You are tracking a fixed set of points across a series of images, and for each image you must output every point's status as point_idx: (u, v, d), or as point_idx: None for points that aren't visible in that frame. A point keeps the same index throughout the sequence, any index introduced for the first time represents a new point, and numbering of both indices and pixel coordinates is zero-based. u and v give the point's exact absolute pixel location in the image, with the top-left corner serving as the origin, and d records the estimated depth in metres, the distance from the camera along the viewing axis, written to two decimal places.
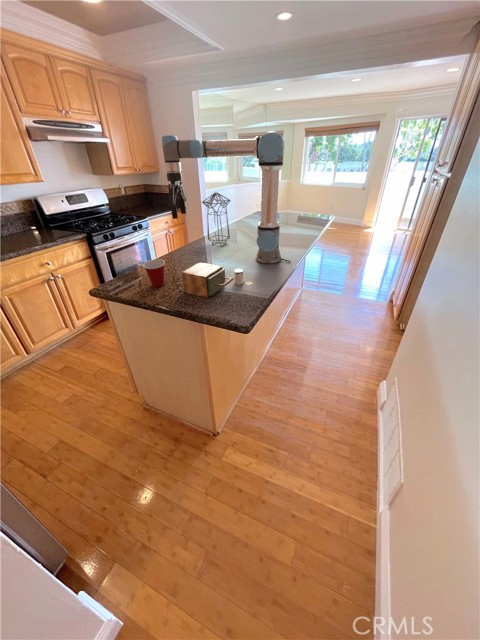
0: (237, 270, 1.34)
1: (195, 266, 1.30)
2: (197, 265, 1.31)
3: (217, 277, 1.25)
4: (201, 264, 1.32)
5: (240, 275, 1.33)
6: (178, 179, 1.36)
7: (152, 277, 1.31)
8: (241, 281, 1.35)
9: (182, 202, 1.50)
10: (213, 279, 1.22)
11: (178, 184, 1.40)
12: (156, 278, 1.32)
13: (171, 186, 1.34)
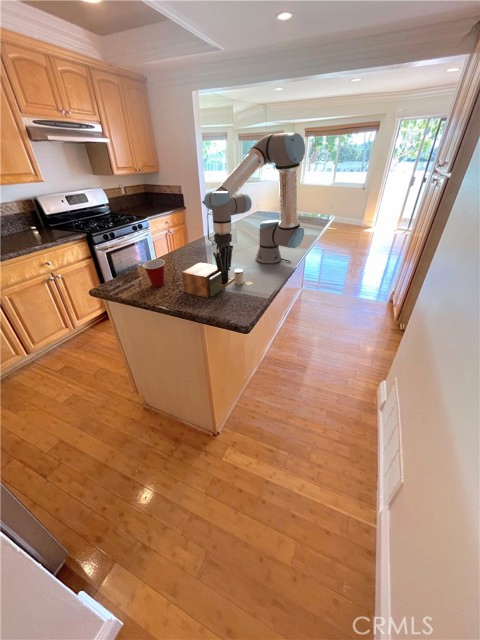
0: (237, 270, 1.34)
1: (195, 266, 1.30)
2: (197, 265, 1.31)
3: (219, 278, 1.24)
4: (201, 264, 1.32)
5: (240, 275, 1.33)
6: (225, 242, 1.11)
7: (152, 277, 1.31)
8: (241, 281, 1.35)
9: None
10: (214, 280, 1.21)
11: (227, 242, 1.15)
12: (156, 278, 1.32)
13: (217, 255, 1.12)
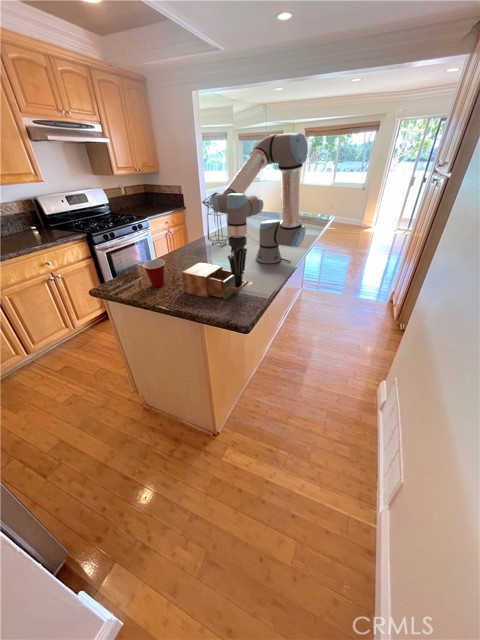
0: None
1: (195, 266, 1.30)
2: (197, 265, 1.31)
3: (232, 280, 1.21)
4: (201, 264, 1.32)
5: None
6: (241, 245, 1.08)
7: (152, 277, 1.31)
8: None
9: None
10: (228, 283, 1.18)
11: None
12: (156, 278, 1.32)
13: (231, 259, 1.09)
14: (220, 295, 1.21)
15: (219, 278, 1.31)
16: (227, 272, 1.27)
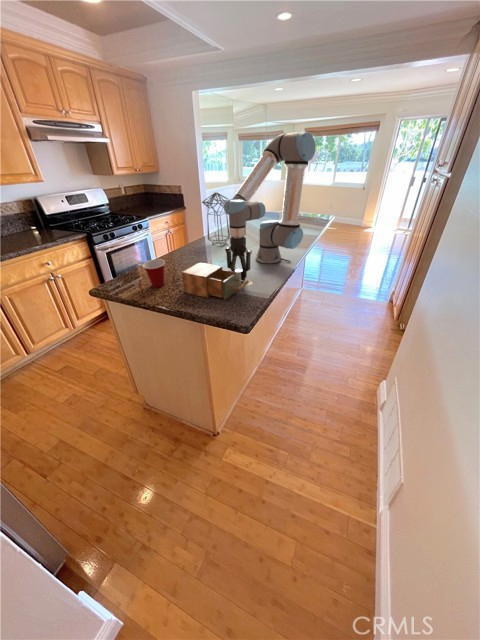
0: (237, 270, 1.34)
1: (195, 266, 1.30)
2: (197, 265, 1.31)
3: (232, 280, 1.21)
4: (201, 264, 1.32)
5: (240, 275, 1.33)
6: (230, 243, 1.25)
7: (152, 277, 1.31)
8: None
9: None
10: (228, 283, 1.18)
11: (239, 247, 1.26)
12: (156, 278, 1.32)
13: None
14: (220, 295, 1.21)
15: (219, 278, 1.31)
16: (227, 272, 1.27)
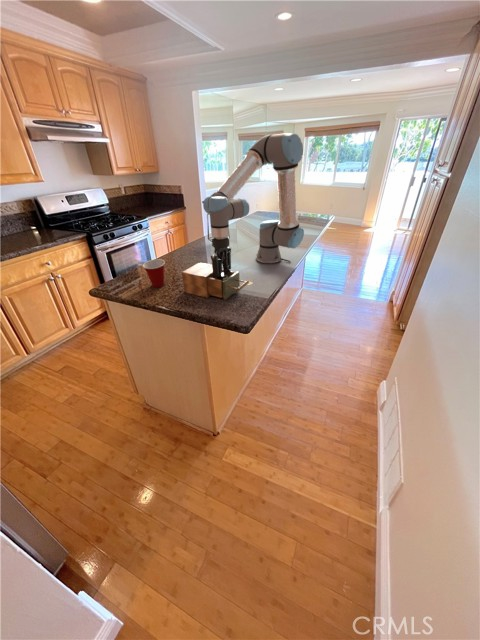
0: (222, 274, 1.22)
1: (195, 266, 1.30)
2: (197, 265, 1.31)
3: (232, 280, 1.21)
4: (201, 264, 1.32)
5: None
6: (223, 246, 1.12)
7: (152, 277, 1.31)
8: None
9: None
10: (228, 283, 1.18)
11: (225, 247, 1.17)
12: (156, 278, 1.32)
13: (214, 259, 1.13)
14: (220, 295, 1.21)
15: None
16: None
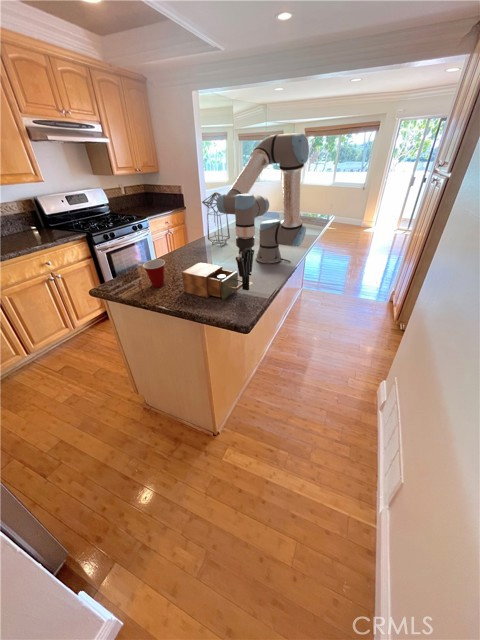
0: (221, 276, 1.23)
1: (195, 266, 1.30)
2: (197, 265, 1.31)
3: (231, 280, 1.22)
4: (201, 264, 1.32)
5: None
6: (249, 246, 1.06)
7: (152, 277, 1.31)
8: None
9: None
10: (226, 282, 1.19)
11: None
12: (156, 278, 1.32)
13: (239, 260, 1.08)
14: (219, 295, 1.21)
15: None
16: (226, 272, 1.27)
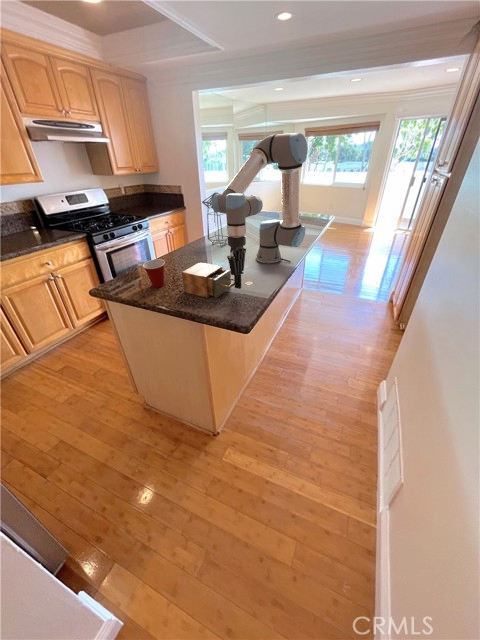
0: (213, 275, 1.24)
1: (195, 266, 1.30)
2: (197, 265, 1.31)
3: (223, 278, 1.23)
4: (201, 264, 1.32)
5: None
6: (240, 245, 1.08)
7: (152, 277, 1.31)
8: None
9: None
10: (218, 281, 1.20)
11: None
12: (156, 278, 1.32)
13: (231, 259, 1.09)
14: (211, 293, 1.23)
15: None
16: (219, 270, 1.29)
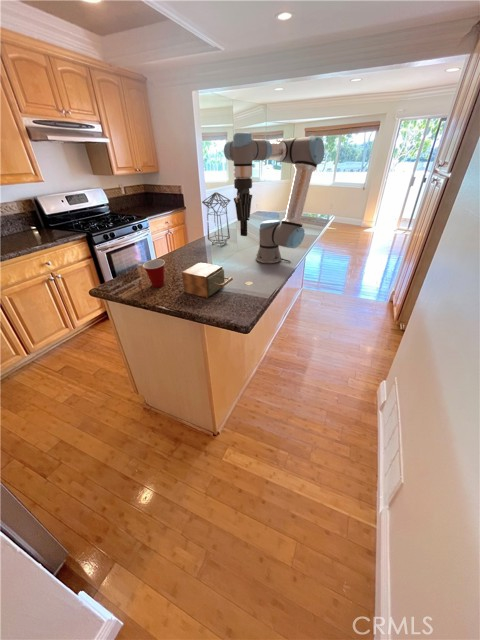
0: None
1: (195, 266, 1.30)
2: (197, 265, 1.31)
3: (216, 277, 1.25)
4: (201, 264, 1.32)
5: None
6: (246, 187, 1.10)
7: (152, 277, 1.31)
8: None
9: None
10: (212, 279, 1.22)
11: (247, 189, 1.14)
12: (156, 278, 1.32)
13: (237, 201, 1.11)
14: None
15: None
16: None
